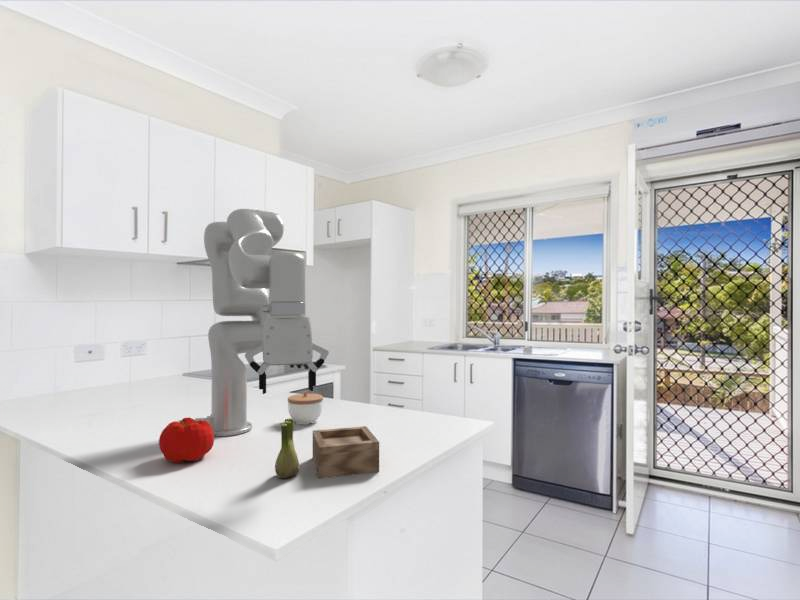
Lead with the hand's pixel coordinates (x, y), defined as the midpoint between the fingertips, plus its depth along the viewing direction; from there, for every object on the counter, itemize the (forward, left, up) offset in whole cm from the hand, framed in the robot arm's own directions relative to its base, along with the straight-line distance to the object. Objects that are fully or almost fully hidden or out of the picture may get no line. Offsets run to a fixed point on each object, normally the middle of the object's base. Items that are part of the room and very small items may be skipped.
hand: (287, 391), depth 95 cm
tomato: (-22, +18, -18) cm, 34 cm away
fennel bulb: (0, 0, -18) cm, 18 cm away
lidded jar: (+8, +43, -18) cm, 48 cm away
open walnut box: (+13, +3, -18) cm, 22 cm away
